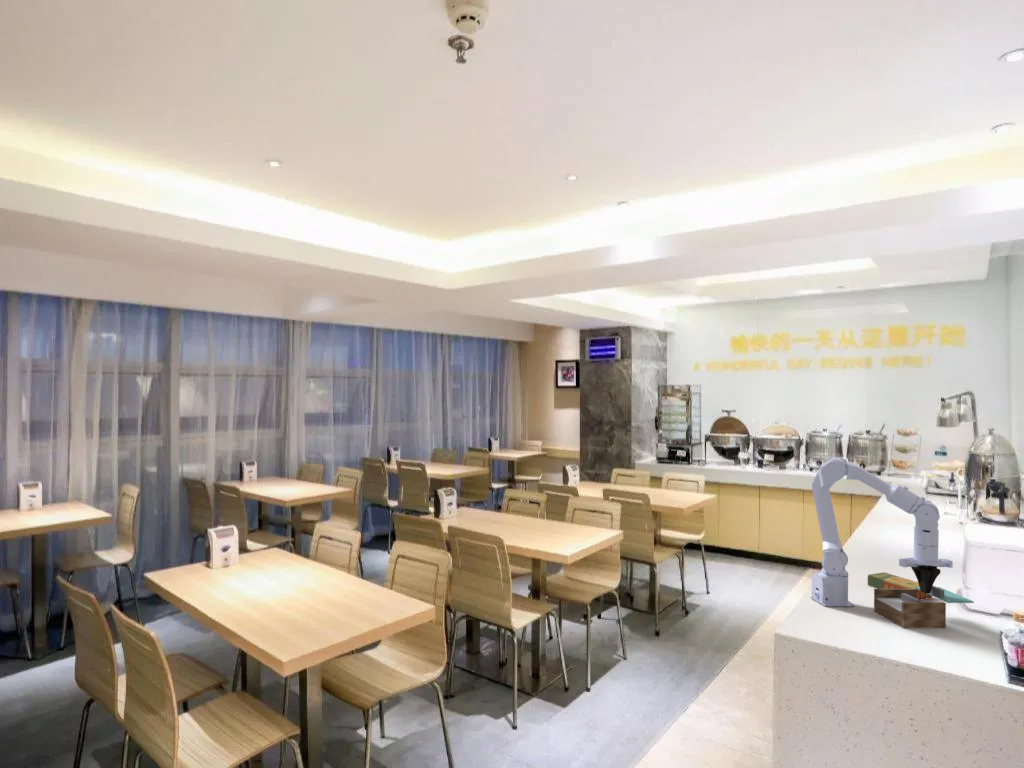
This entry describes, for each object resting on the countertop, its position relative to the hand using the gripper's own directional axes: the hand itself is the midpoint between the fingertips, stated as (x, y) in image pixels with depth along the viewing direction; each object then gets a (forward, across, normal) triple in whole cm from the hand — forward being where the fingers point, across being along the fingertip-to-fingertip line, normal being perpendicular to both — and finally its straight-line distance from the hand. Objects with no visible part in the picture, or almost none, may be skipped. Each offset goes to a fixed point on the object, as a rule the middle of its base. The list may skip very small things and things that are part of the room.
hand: (925, 592), depth 167 cm
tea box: (+8, -5, 0) cm, 9 cm away
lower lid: (+4, -7, 0) cm, 8 cm away
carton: (+8, +10, +24) cm, 27 cm away
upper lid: (+1, +5, 0) cm, 6 cm away
